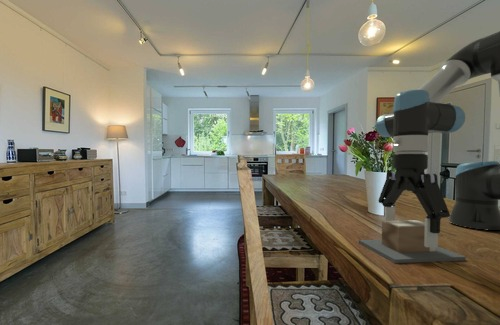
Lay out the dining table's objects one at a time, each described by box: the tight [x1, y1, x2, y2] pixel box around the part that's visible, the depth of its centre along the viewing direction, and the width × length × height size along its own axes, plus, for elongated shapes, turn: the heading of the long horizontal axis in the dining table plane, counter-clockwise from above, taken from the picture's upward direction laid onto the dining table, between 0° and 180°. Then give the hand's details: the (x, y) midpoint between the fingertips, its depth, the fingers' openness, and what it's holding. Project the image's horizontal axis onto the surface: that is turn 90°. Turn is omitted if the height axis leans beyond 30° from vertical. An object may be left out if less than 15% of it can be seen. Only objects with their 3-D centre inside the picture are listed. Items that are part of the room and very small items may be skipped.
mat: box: [358, 239, 467, 264], centre depth 64 cm, size 18×14×1 cm
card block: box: [381, 219, 436, 253], centre depth 64 cm, size 6×10×6 cm, turn 98°
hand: (408, 237), depth 64 cm, fingers open, 13 cm apart
